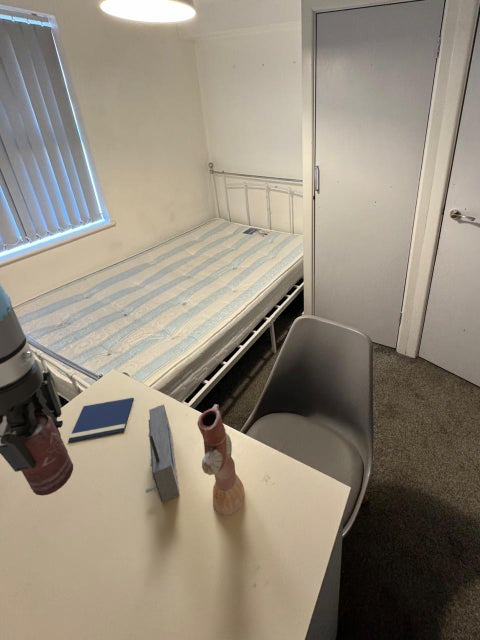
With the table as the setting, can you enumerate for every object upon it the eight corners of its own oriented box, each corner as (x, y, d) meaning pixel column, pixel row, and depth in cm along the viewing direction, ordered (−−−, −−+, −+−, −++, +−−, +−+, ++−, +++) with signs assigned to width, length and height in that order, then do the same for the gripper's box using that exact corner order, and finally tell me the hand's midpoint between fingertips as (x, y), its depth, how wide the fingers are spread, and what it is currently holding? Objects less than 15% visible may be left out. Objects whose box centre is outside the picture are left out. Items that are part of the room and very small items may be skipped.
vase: (225, 472, 80) (211, 387, 68) (251, 484, 78) (242, 398, 65) (199, 520, 71) (178, 432, 59) (227, 535, 69) (211, 446, 56)
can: (68, 453, 63) (45, 403, 57) (78, 477, 59) (54, 426, 53) (29, 478, 59) (1, 427, 53) (37, 505, 55) (7, 453, 49)
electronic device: (180, 494, 76) (165, 440, 68) (149, 509, 73) (129, 454, 65) (171, 431, 90) (158, 379, 82) (145, 441, 87) (129, 389, 79)
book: (68, 442, 87) (67, 440, 87) (84, 407, 97) (83, 405, 97) (124, 431, 90) (123, 429, 90) (133, 398, 100) (133, 396, 99)
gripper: (1, 415, 43) (56, 511, 53) (57, 334, 57) (92, 421, 67) (-66, 426, 41) (3, 523, 51) (9, 340, 56) (52, 428, 66)
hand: (54, 465), depth 59 cm, fingers open, 3 cm apart
